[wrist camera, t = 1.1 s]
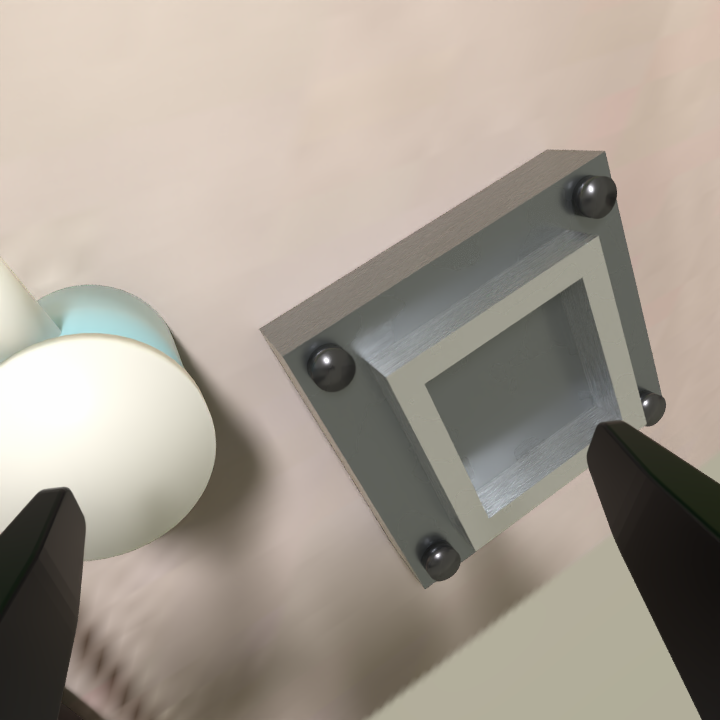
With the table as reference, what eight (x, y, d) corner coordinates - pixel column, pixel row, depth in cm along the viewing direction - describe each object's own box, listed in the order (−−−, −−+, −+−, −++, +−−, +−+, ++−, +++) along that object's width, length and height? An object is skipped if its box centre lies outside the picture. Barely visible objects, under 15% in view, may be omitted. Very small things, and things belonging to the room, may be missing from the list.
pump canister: (73, 467, 20) (63, 602, 14) (-118, 264, 16) (-238, 335, 10) (212, 379, 21) (256, 472, 15) (63, 166, 17) (45, 182, 11)
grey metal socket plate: (393, 545, 26) (444, 615, 22) (259, 329, 21) (296, 373, 17) (613, 385, 28) (695, 424, 25) (547, 149, 23) (639, 152, 19)
